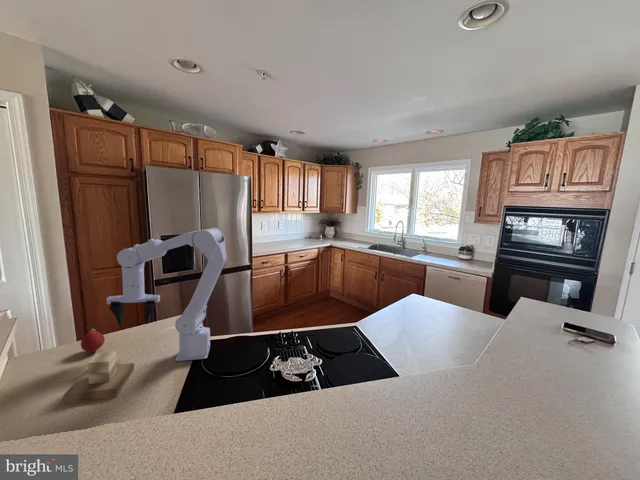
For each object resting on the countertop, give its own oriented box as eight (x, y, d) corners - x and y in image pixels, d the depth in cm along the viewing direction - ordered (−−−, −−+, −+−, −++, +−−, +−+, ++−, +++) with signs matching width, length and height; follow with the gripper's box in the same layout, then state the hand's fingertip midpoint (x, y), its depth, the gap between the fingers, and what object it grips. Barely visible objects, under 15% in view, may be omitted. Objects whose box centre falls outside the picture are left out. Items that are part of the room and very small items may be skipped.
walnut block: (134, 372, 77) (134, 363, 77) (116, 398, 67) (115, 388, 66) (90, 376, 74) (90, 366, 74) (64, 405, 64) (63, 394, 63)
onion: (91, 358, 81) (89, 335, 80) (76, 355, 82) (75, 332, 81) (109, 348, 87) (108, 326, 86) (95, 346, 88) (94, 324, 87)
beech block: (117, 371, 73) (116, 351, 72) (109, 381, 69) (108, 361, 68) (97, 373, 71) (96, 353, 71) (88, 384, 67) (87, 363, 66)
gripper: (162, 279, 89) (163, 316, 91) (113, 280, 85) (115, 318, 87) (155, 286, 82) (156, 325, 84) (102, 287, 78) (104, 328, 80)
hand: (134, 323), depth 85 cm, fingers open, 7 cm apart
